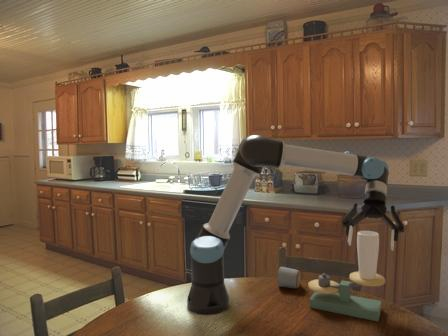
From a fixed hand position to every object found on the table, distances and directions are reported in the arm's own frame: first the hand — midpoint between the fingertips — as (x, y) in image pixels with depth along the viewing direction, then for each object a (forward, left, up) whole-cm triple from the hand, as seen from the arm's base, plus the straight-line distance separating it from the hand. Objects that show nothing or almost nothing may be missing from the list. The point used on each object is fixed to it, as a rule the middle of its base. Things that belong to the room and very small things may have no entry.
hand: (370, 246), depth 120 cm
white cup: (0, -4, -10) cm, 11 cm away
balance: (-7, -4, -22) cm, 23 cm away
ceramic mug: (-31, +7, -22) cm, 38 cm away
